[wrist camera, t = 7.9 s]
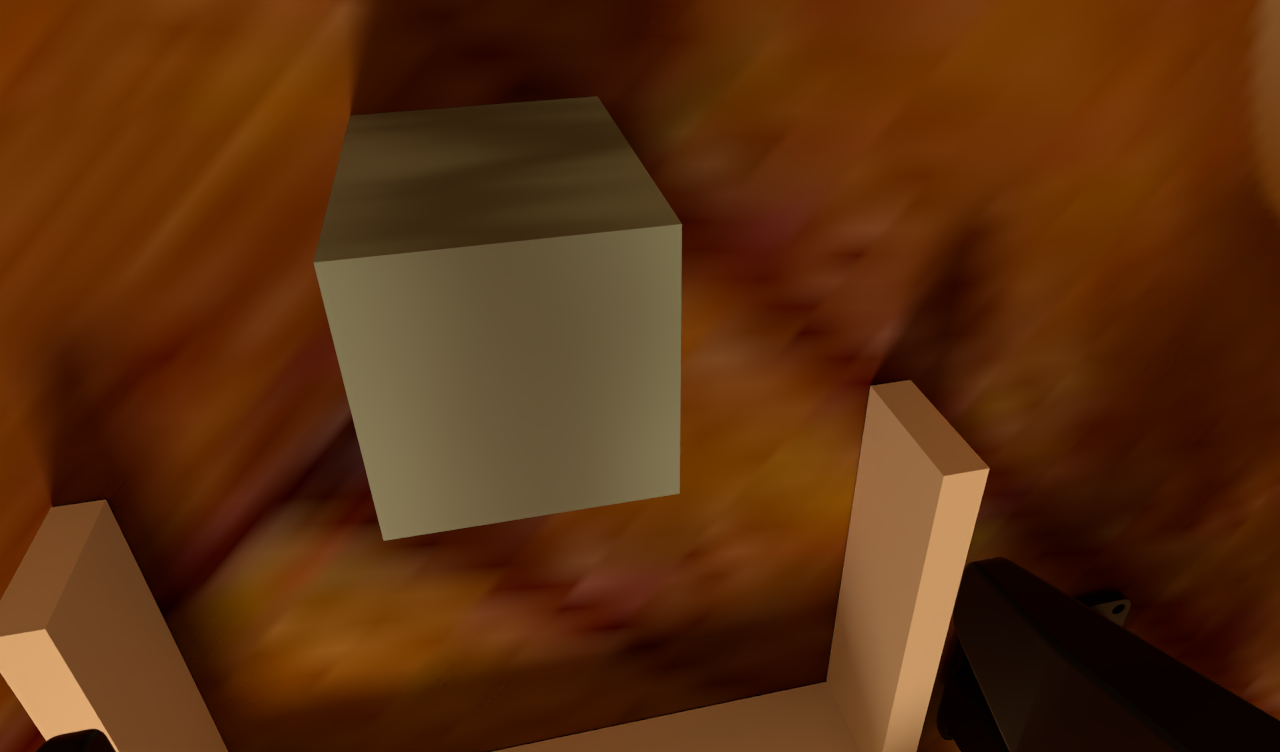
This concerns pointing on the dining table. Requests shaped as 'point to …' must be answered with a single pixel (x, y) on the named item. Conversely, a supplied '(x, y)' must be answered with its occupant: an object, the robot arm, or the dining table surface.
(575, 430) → the block
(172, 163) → the dining table surface
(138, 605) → the wooden frame
